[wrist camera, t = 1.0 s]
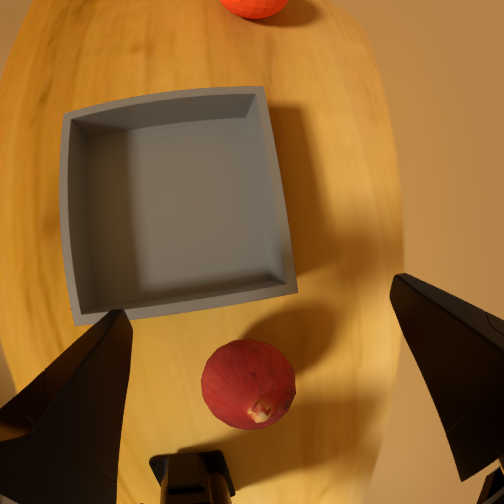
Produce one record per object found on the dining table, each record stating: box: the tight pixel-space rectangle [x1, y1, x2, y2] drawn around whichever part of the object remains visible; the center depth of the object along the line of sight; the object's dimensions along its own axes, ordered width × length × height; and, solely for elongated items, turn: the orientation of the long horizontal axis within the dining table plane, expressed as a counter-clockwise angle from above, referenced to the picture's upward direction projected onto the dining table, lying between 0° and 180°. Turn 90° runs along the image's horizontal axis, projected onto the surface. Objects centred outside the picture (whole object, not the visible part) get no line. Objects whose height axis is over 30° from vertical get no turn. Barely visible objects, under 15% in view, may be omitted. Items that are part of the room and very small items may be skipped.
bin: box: [59, 86, 298, 326], centre depth 17 cm, size 13×13×4 cm
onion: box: [201, 339, 296, 430], centre depth 16 cm, size 6×6×8 cm
